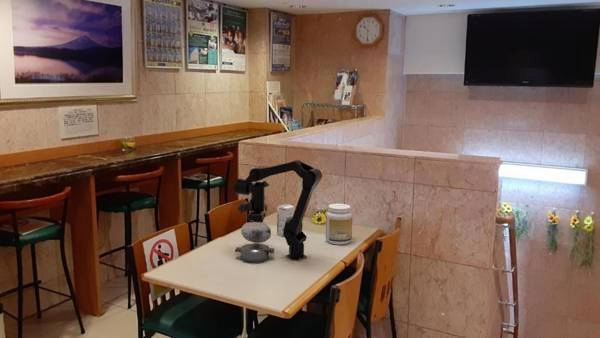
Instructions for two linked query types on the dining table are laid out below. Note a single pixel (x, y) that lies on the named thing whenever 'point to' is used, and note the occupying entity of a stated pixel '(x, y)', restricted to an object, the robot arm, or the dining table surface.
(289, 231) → the robot arm
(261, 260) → the cooker pot
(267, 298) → the dining table surface
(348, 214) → the supplement tub
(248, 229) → the cooker lid
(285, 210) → the syrup box
